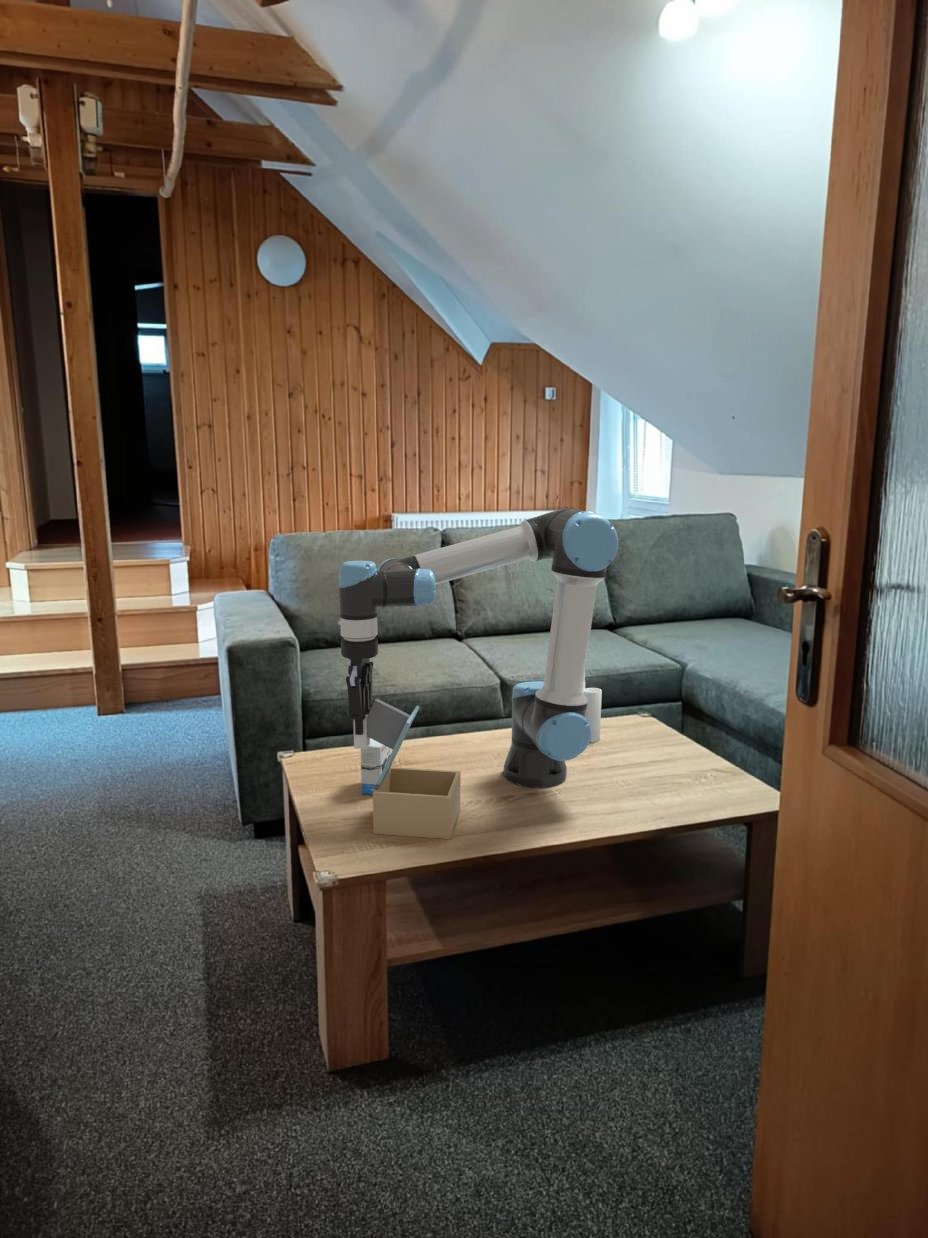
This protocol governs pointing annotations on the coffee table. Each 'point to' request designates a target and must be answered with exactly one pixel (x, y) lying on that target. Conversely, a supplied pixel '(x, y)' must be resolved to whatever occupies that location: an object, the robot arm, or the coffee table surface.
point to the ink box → (372, 765)
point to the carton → (417, 803)
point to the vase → (593, 710)
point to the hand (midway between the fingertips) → (362, 746)
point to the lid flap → (388, 729)
